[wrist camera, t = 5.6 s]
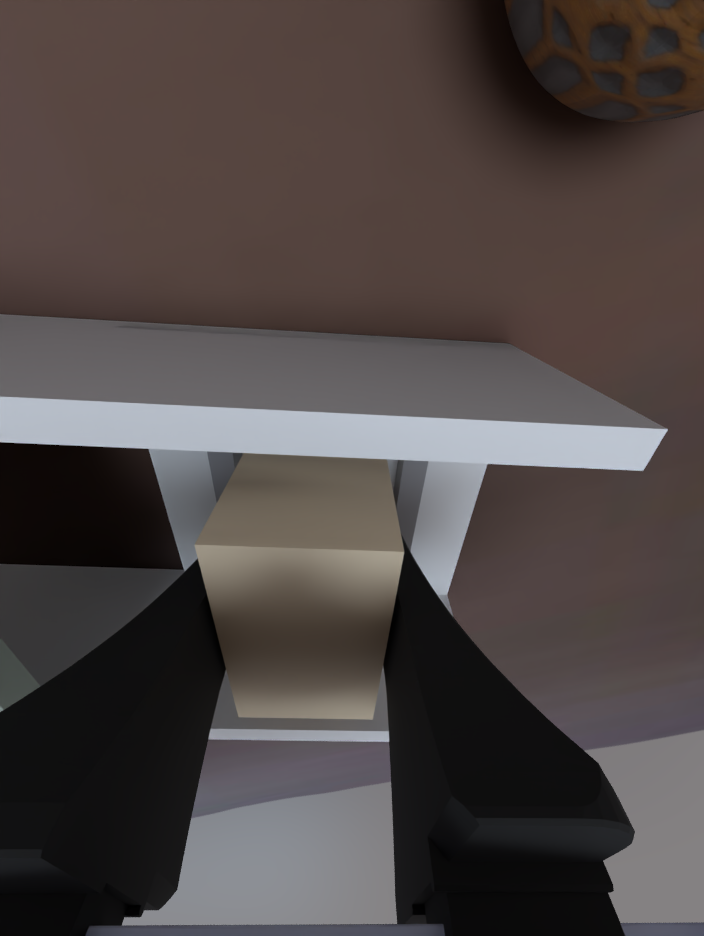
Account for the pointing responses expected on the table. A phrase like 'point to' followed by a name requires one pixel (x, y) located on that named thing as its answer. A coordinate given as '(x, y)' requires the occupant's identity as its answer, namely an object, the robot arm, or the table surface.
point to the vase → (615, 55)
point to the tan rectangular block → (303, 583)
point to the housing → (279, 451)
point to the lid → (13, 678)
